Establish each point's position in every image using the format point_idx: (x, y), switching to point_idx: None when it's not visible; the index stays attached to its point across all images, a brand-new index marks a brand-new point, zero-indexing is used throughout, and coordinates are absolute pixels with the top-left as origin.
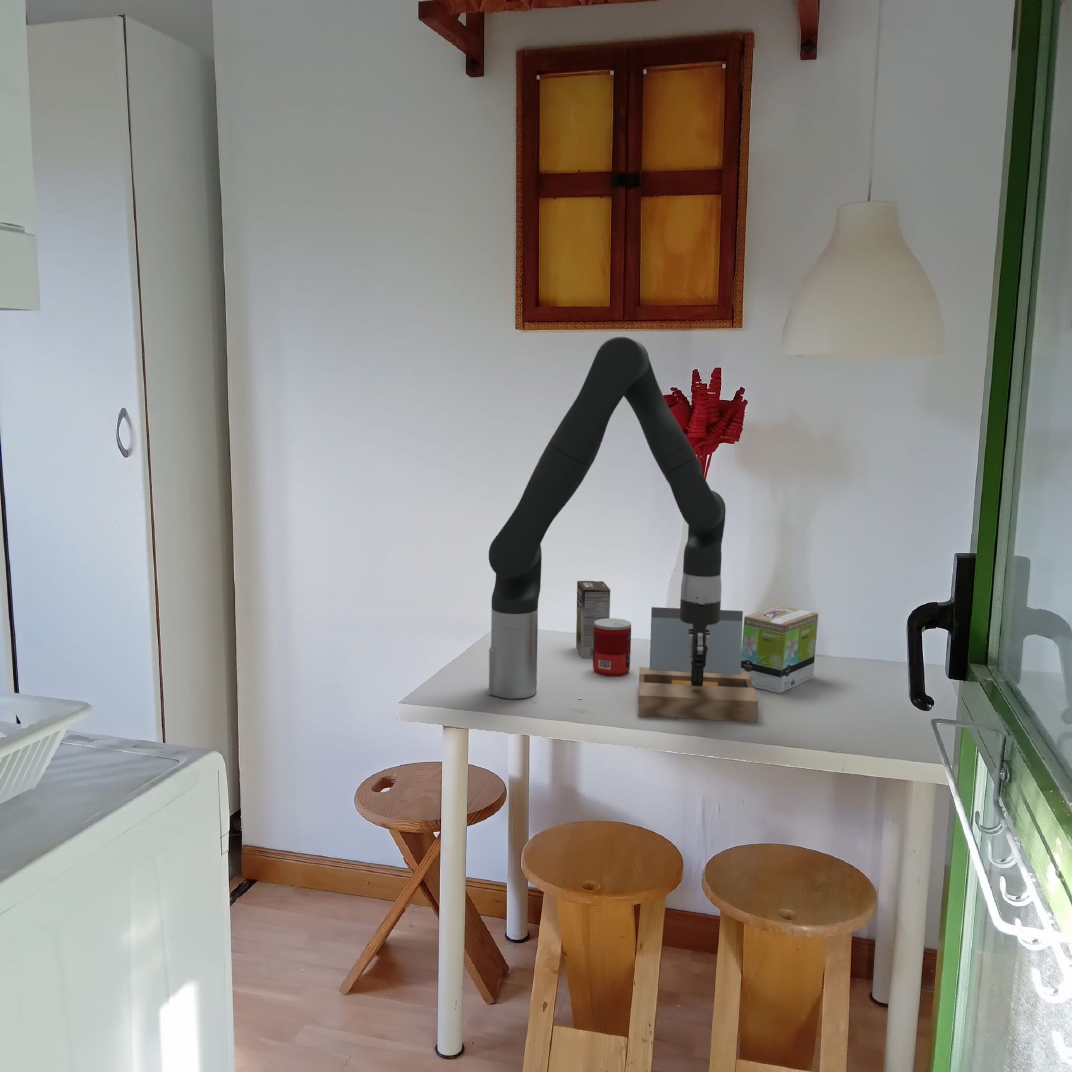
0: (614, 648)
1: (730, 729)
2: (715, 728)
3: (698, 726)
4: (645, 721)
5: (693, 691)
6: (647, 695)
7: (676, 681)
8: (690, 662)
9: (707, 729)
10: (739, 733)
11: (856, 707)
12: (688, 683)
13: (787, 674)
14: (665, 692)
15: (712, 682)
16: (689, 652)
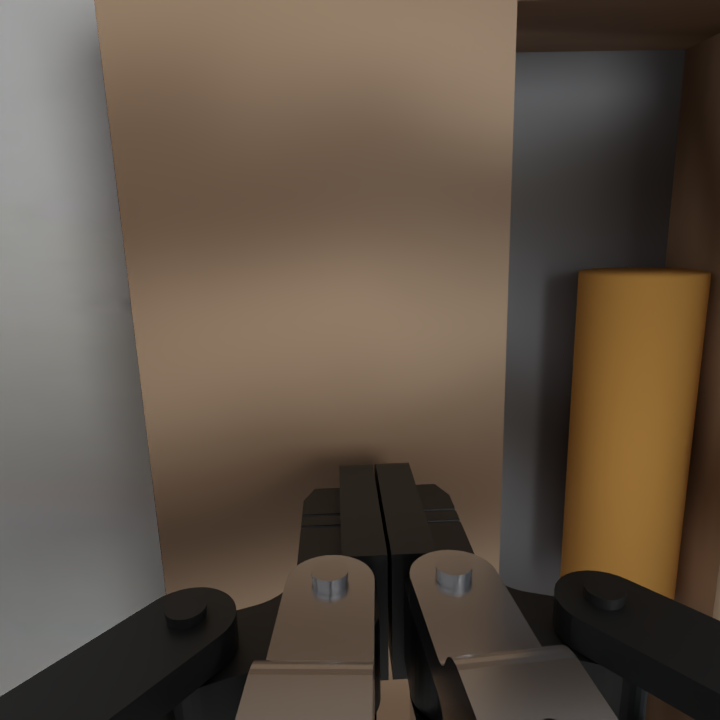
0: None
1: (65, 610)
2: (55, 533)
3: (59, 439)
4: (48, 81)
5: (327, 460)
6: (108, 41)
7: (653, 316)
8: (437, 559)
9: (22, 490)
10: (14, 652)
11: None
12: (625, 411)
13: None
14: (243, 222)
15: (643, 586)
16: (297, 682)
